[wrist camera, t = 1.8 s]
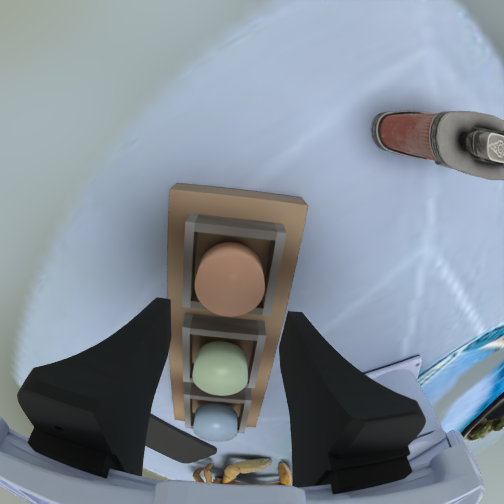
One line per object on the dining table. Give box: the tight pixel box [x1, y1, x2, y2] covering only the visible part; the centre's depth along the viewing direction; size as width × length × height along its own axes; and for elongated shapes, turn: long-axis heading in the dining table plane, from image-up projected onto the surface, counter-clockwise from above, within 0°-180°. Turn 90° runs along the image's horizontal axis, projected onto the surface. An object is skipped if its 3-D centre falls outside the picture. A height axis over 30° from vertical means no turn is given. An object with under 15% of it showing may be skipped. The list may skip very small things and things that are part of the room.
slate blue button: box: [193, 403, 237, 442], centre depth 21 cm, size 4×4×2 cm
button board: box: [167, 183, 308, 433], centre depth 21 cm, size 22×8×4 cm, turn 172°
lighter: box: [371, 111, 504, 180], centre depth 12 cm, size 8×3×10 cm, turn 93°
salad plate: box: [462, 393, 504, 442], centre depth 35 cm, size 19×18×5 cm
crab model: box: [193, 458, 292, 486], centre depth 32 cm, size 16×13×6 cm
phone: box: [145, 413, 217, 463], centre depth 29 cm, size 7×1×15 cm
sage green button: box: [192, 341, 248, 396], centre depth 19 cm, size 4×4×2 cm
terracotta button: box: [195, 242, 265, 317], centre depth 16 cm, size 4×4×2 cm
